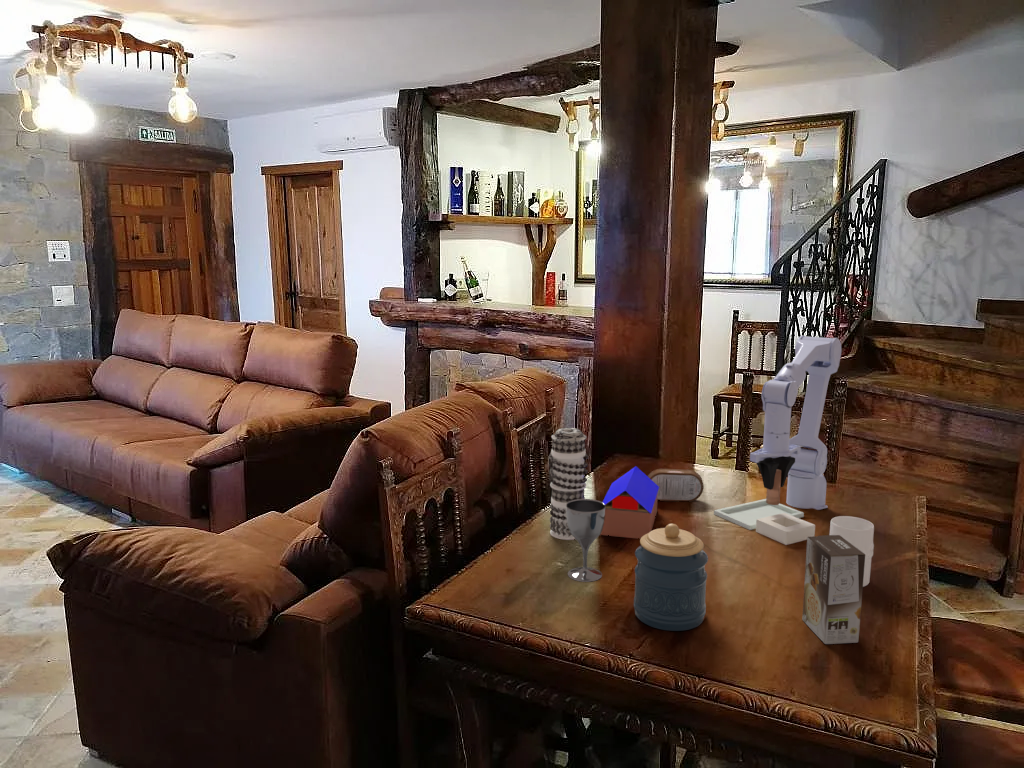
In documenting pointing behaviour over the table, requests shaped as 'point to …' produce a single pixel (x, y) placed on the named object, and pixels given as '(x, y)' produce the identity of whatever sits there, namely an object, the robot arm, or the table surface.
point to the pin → (774, 490)
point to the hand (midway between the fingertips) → (773, 487)
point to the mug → (856, 537)
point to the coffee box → (833, 589)
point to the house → (630, 505)
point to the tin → (677, 484)
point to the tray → (754, 512)
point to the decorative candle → (566, 477)
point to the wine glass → (585, 532)
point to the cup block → (785, 528)
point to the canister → (670, 579)
